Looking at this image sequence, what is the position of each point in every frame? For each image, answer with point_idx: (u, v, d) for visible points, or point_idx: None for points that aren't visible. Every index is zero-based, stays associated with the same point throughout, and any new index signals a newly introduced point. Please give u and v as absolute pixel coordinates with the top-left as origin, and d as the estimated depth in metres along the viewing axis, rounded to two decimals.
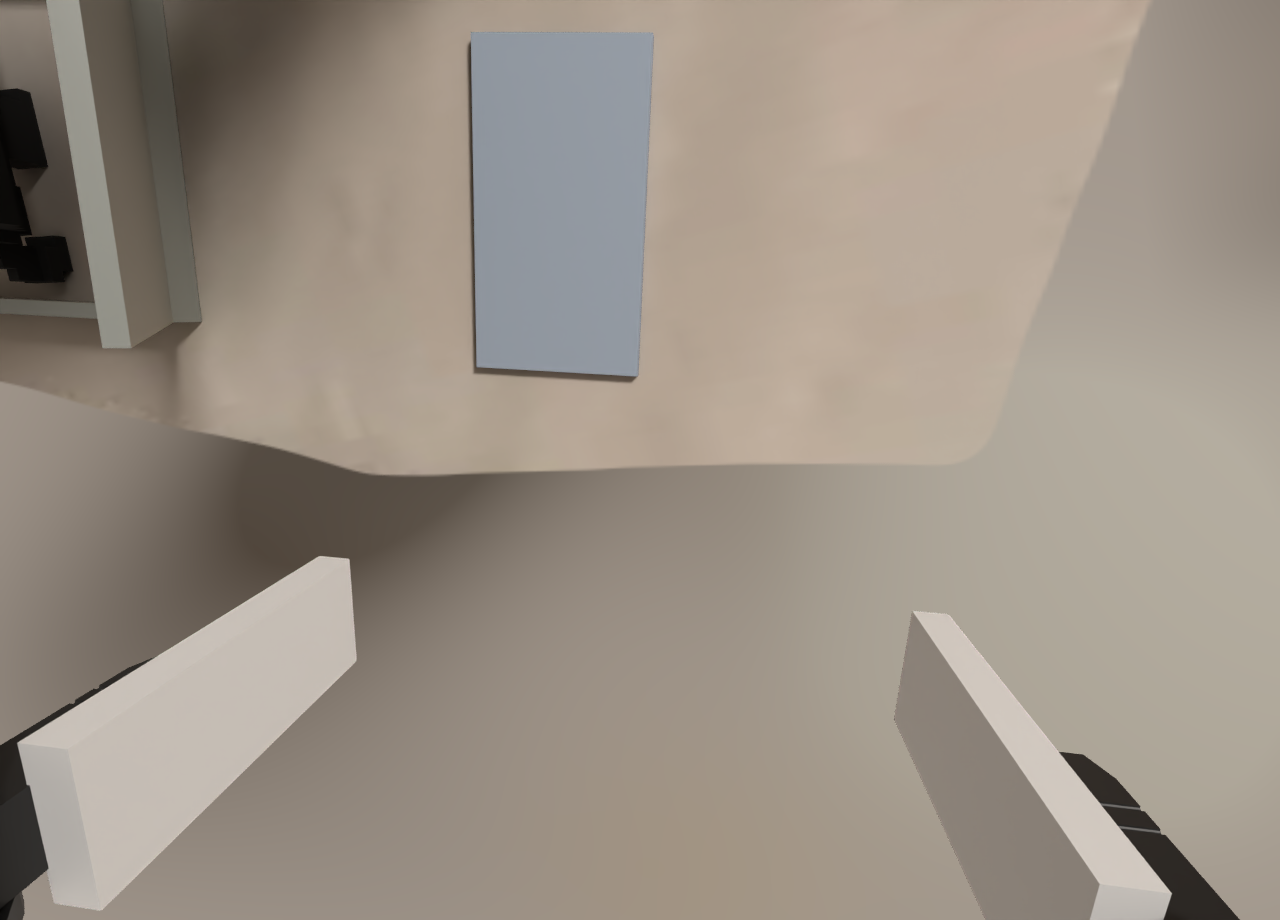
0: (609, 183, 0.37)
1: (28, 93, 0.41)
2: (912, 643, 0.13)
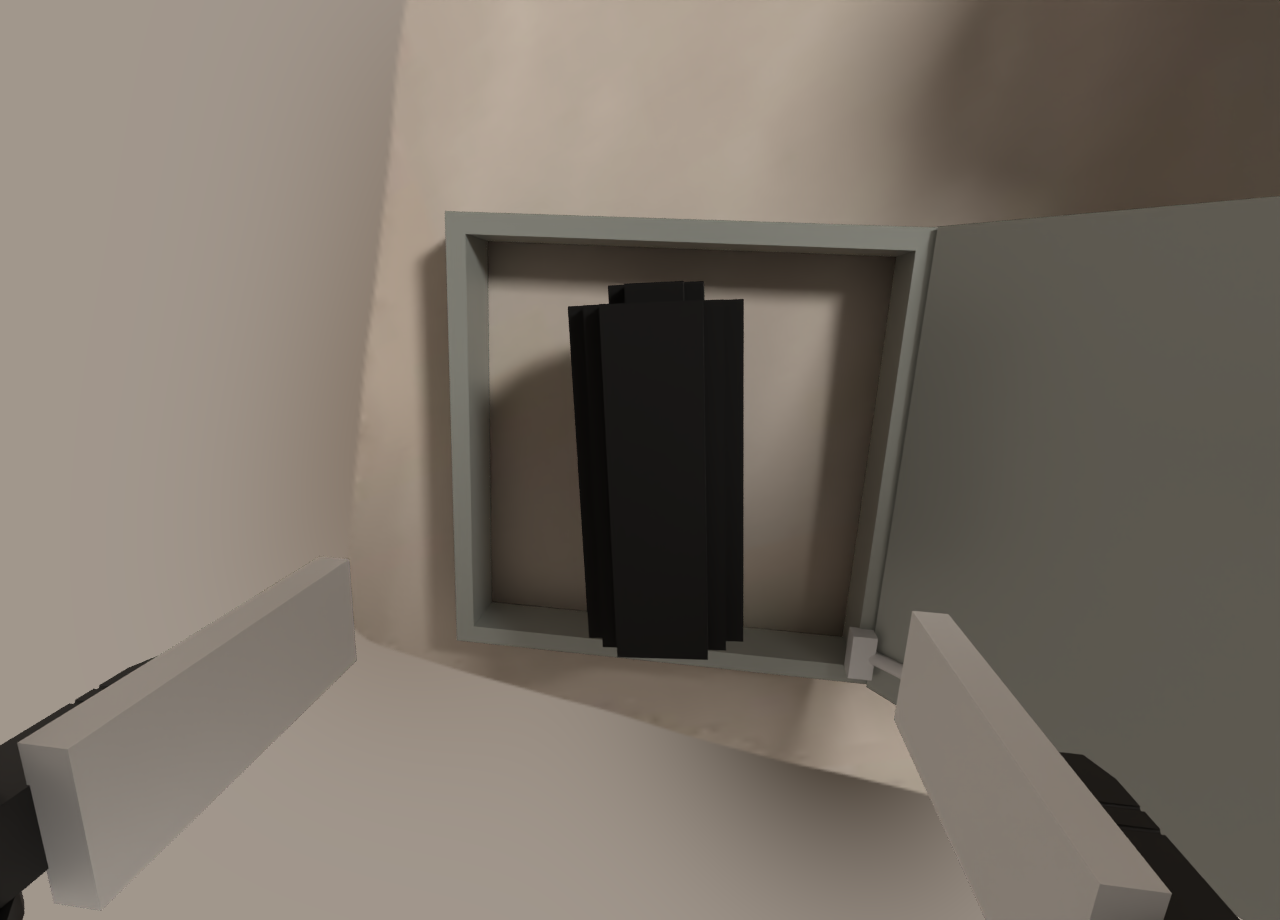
0: None
1: None
2: (912, 643, 0.13)
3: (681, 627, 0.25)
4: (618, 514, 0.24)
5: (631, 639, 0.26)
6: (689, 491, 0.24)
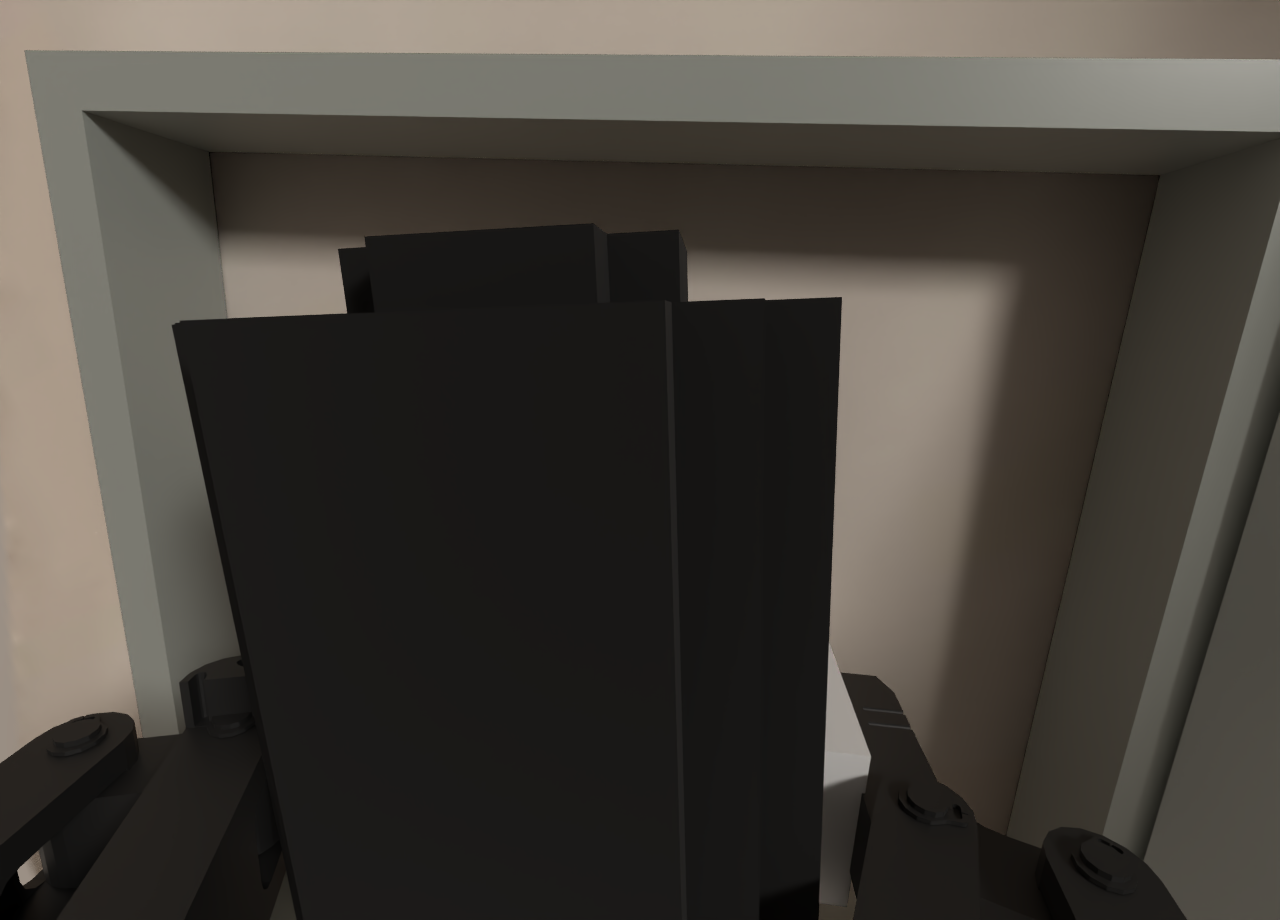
0: None
1: None
2: None
3: None
4: None
5: None
6: None
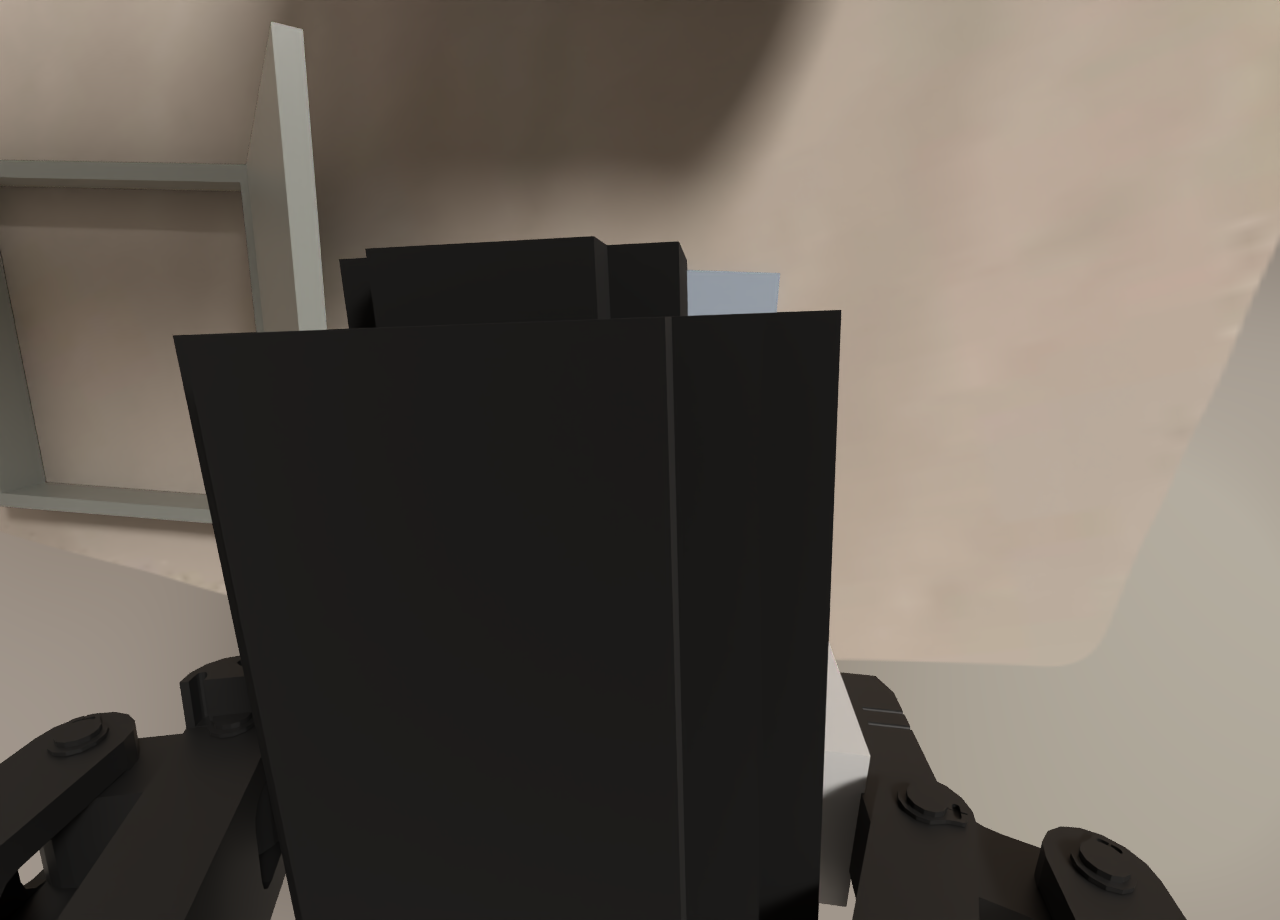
0: None
1: None
2: None
3: None
4: None
5: None
6: None
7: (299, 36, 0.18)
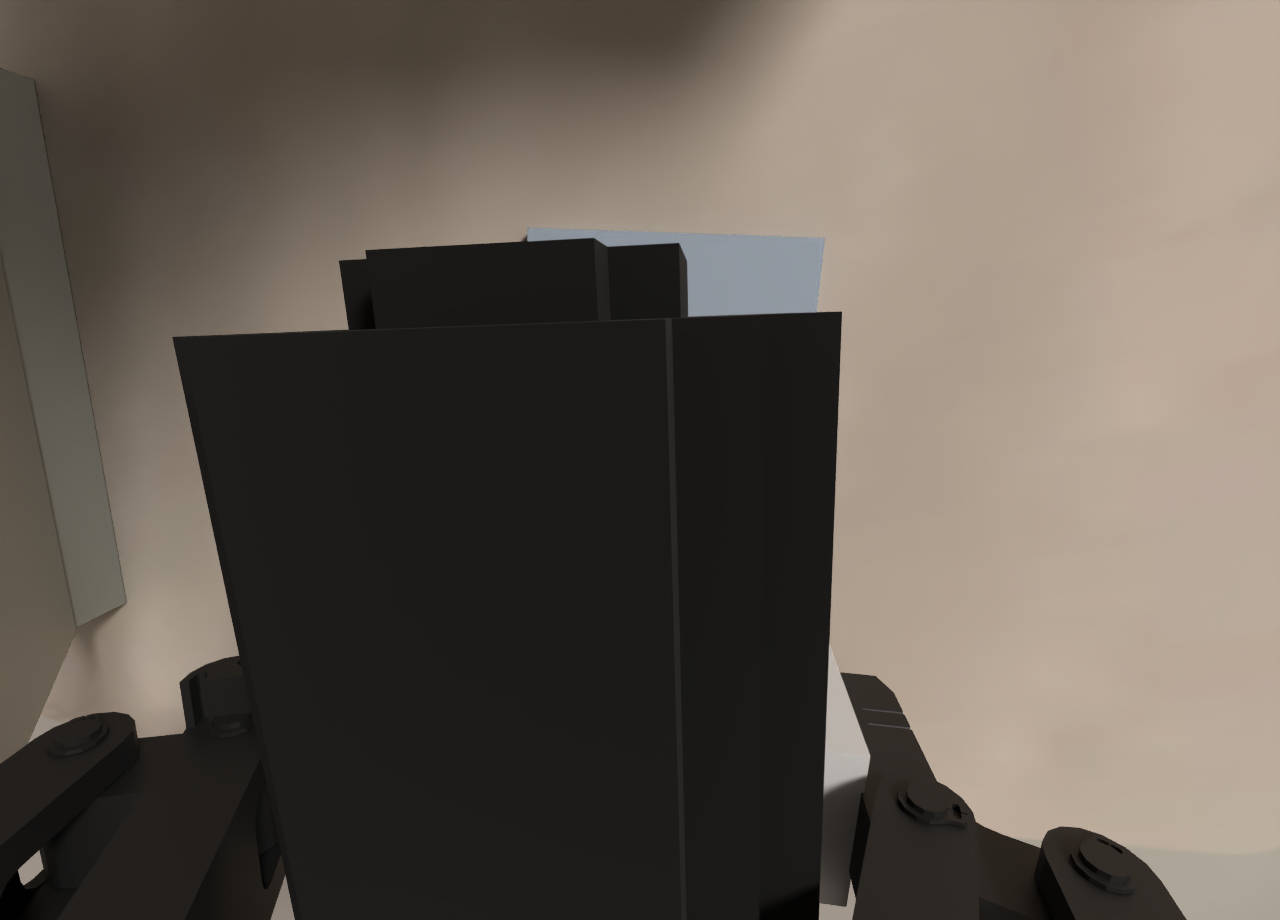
0: None
1: None
2: None
3: None
4: None
5: None
6: None
7: None
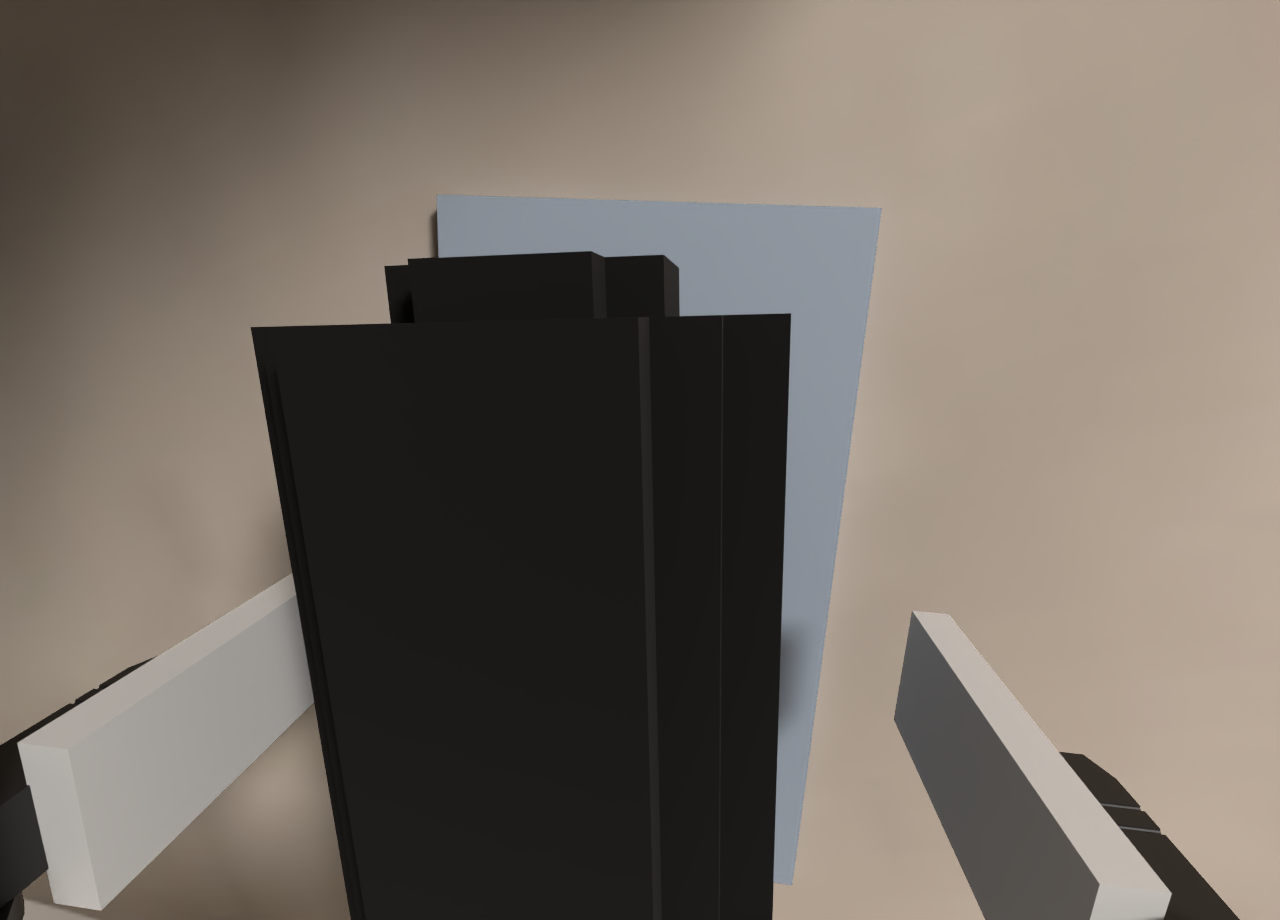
0: None
1: None
2: (912, 643, 0.13)
3: None
4: None
5: None
6: None
7: None
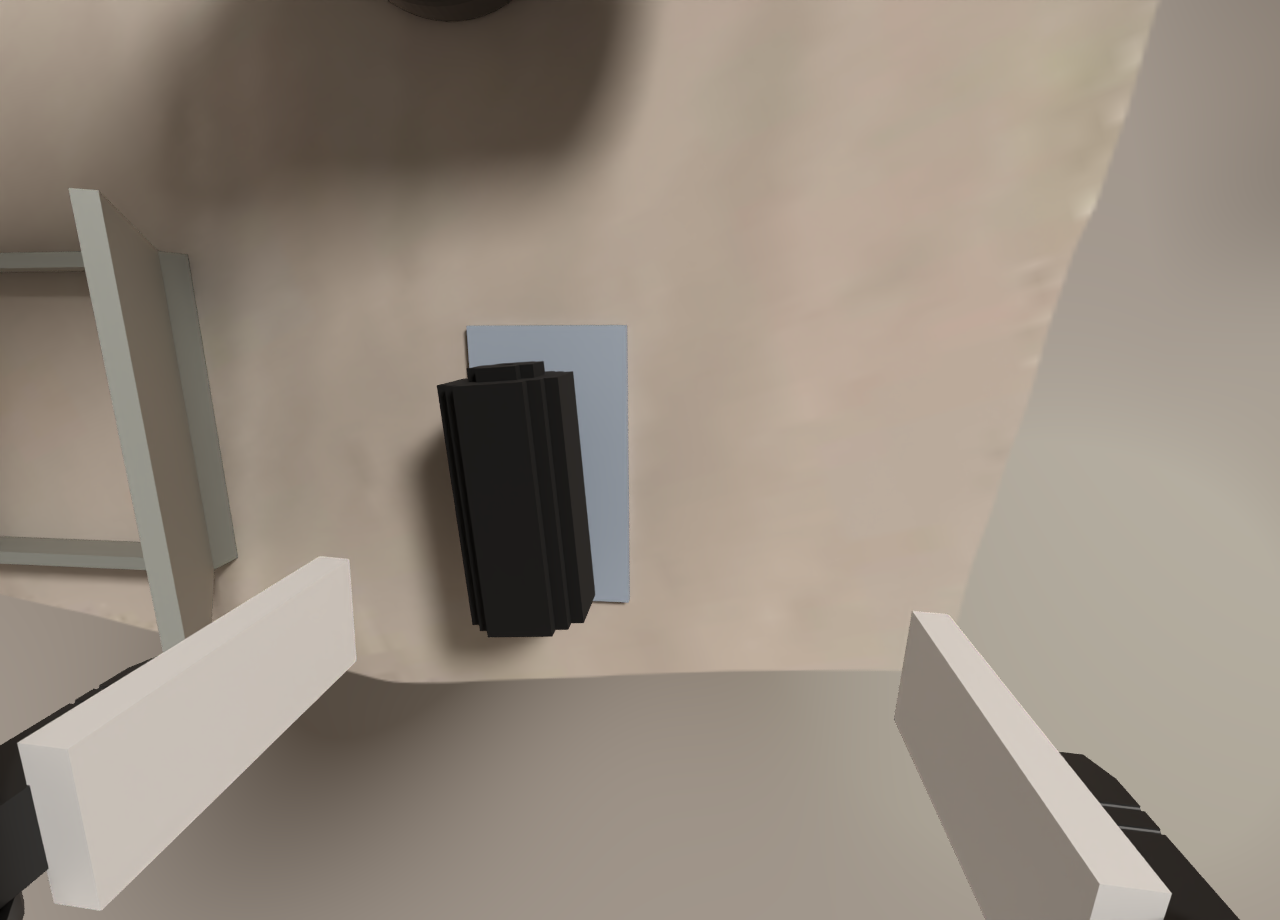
0: (594, 445, 0.42)
1: None
2: (912, 643, 0.13)
3: (531, 613, 0.35)
4: (478, 532, 0.34)
5: (496, 623, 0.35)
6: (526, 514, 0.33)
7: (95, 196, 0.22)
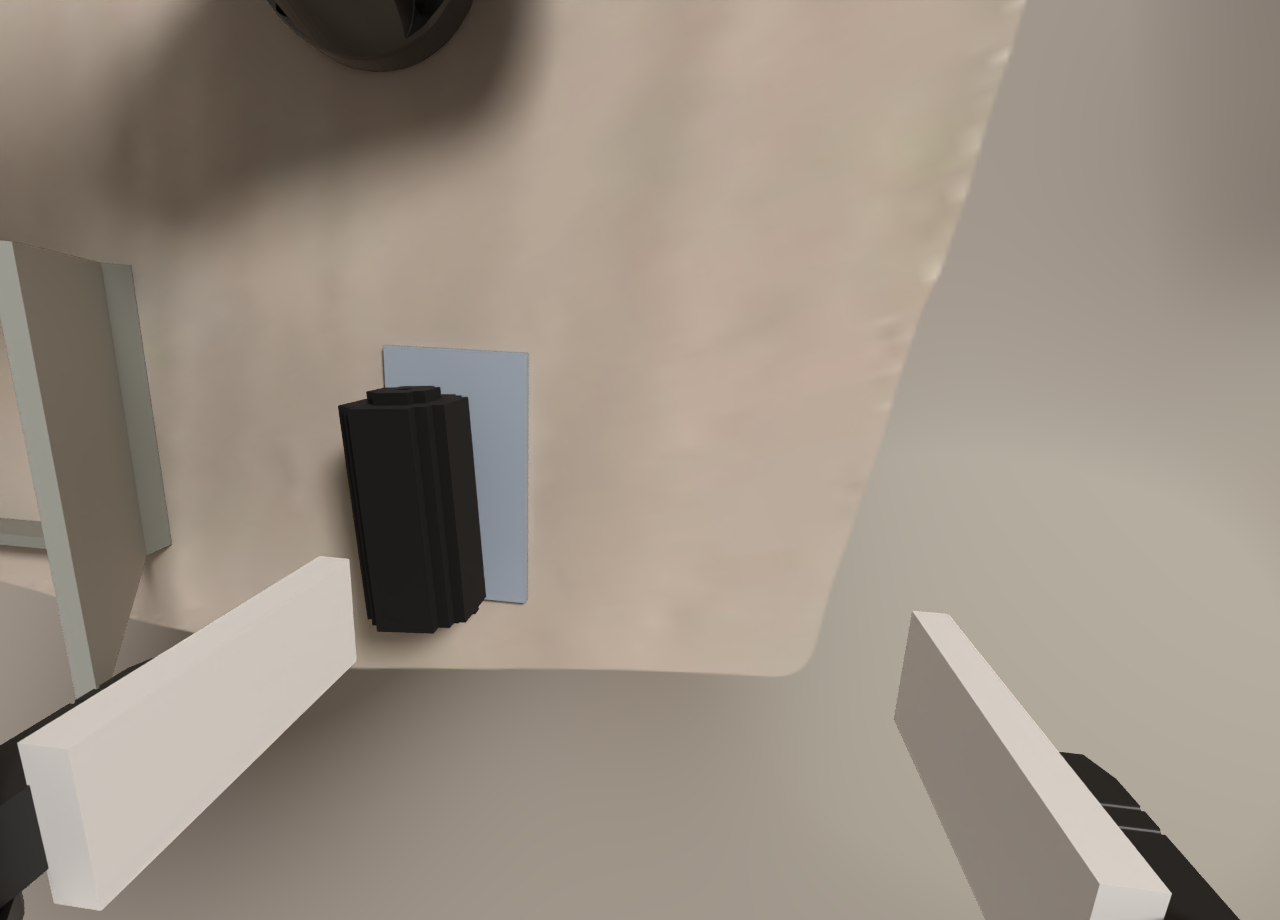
0: (496, 460, 0.46)
1: None
2: (912, 643, 0.13)
3: (415, 612, 0.39)
4: (369, 538, 0.38)
5: (385, 619, 0.39)
6: (411, 524, 0.37)
7: (9, 246, 0.26)
